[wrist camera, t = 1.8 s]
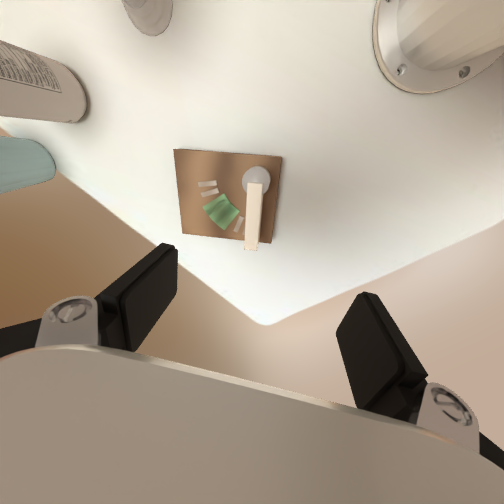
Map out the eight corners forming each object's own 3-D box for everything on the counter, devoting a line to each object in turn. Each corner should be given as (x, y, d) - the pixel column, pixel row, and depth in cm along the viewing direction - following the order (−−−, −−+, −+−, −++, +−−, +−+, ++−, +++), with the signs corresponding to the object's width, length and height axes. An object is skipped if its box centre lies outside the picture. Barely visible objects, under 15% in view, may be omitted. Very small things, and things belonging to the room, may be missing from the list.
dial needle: (246, 164, 24) (241, 167, 21) (271, 166, 24) (270, 169, 21) (243, 237, 28) (238, 248, 25) (264, 239, 28) (262, 251, 25)
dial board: (281, 156, 25) (281, 157, 23) (271, 237, 30) (271, 244, 28) (180, 148, 26) (172, 149, 24) (188, 228, 31) (182, 234, 29)
